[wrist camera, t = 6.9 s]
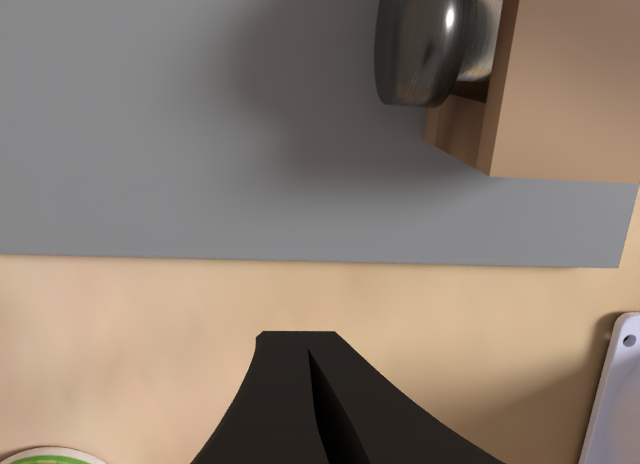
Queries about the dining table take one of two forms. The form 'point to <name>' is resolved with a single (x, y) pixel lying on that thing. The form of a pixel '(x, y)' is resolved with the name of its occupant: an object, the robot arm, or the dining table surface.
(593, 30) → the bearing block
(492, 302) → the dining table surface
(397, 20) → the shaft
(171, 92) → the base board
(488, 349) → the dining table surface
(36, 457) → the supplement bottle
